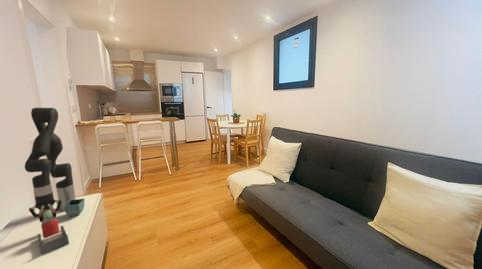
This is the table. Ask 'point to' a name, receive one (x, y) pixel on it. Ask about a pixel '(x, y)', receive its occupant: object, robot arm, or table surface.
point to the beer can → (50, 227)
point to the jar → (47, 213)
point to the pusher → (52, 238)
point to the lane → (53, 243)
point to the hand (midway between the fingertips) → (48, 219)
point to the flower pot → (74, 207)
